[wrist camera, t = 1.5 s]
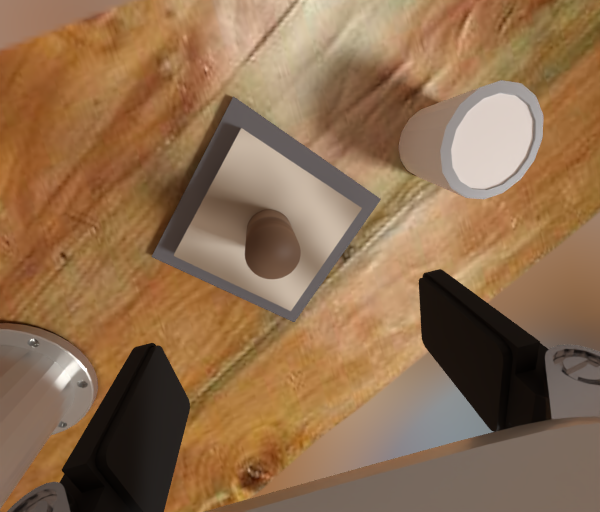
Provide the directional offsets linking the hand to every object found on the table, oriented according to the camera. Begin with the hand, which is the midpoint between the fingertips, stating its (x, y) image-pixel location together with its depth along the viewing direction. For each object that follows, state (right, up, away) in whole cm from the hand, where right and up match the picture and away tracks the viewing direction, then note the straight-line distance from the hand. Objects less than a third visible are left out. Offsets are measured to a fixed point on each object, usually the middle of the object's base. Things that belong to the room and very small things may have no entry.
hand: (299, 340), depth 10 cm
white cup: (+11, +13, +14) cm, 22 cm away
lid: (-3, +5, +14) cm, 15 cm away
